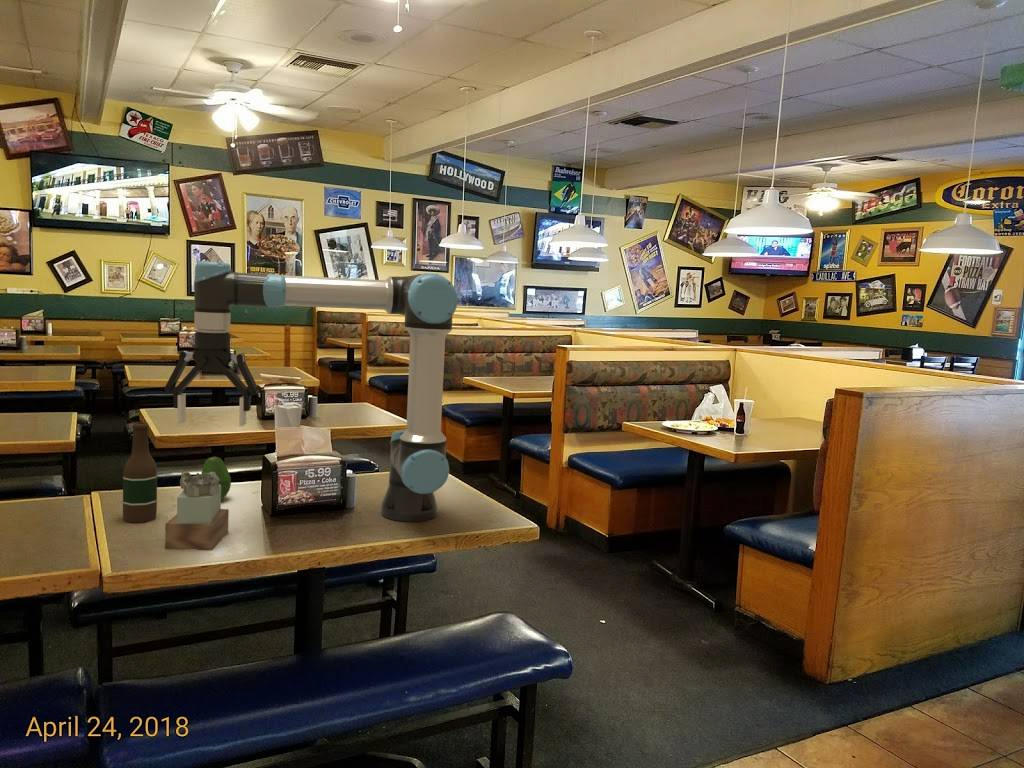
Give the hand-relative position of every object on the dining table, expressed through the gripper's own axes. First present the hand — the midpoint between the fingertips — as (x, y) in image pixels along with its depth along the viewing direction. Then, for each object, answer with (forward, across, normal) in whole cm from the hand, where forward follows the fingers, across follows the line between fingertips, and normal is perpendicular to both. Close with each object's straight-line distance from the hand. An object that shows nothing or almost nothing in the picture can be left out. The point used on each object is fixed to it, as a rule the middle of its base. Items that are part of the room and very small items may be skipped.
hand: (212, 423), depth 164 cm
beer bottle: (+27, +21, -11) cm, 36 cm away
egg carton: (+15, +2, +2) cm, 16 cm away
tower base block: (+27, +2, +2) cm, 27 cm away
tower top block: (+21, +2, +2) cm, 21 cm away
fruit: (+27, +9, -29) cm, 41 cm away
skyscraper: (+27, -8, -37) cm, 47 cm away
